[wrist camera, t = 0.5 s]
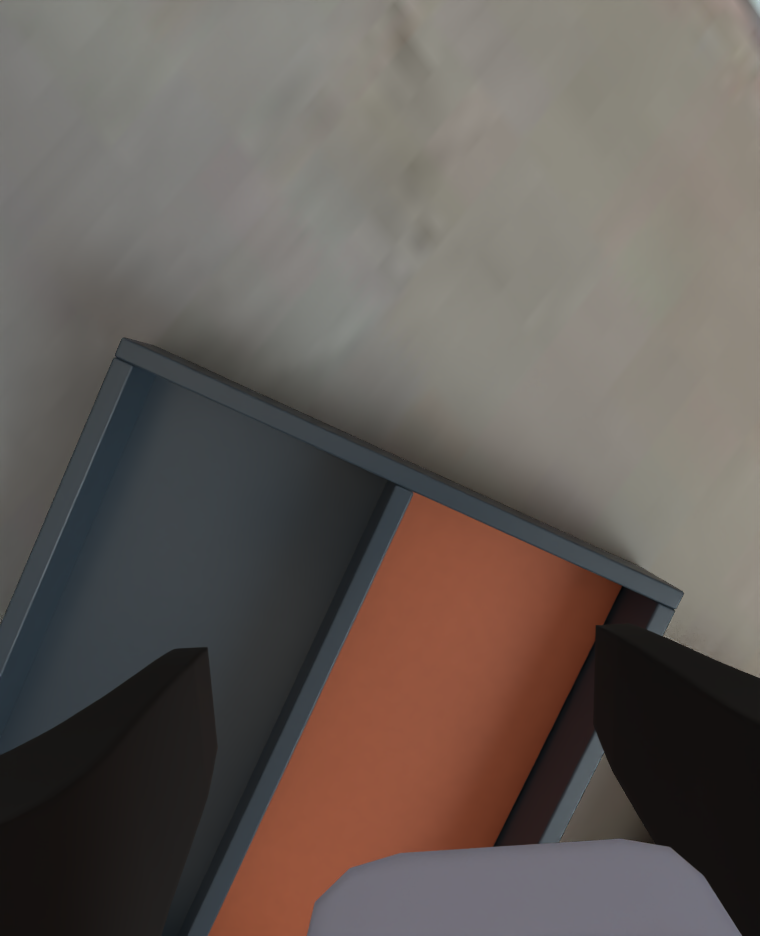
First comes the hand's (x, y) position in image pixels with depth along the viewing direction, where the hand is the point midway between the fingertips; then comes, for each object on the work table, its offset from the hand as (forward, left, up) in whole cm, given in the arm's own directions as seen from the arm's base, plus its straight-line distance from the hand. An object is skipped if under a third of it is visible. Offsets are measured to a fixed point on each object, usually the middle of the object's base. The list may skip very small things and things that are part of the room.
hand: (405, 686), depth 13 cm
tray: (-6, +1, -10) cm, 12 cm away
